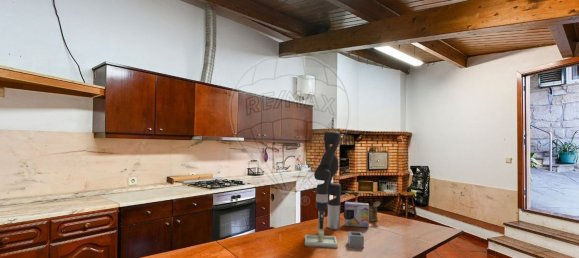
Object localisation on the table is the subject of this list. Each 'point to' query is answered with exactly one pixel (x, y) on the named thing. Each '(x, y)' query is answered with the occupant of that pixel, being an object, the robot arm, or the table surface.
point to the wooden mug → (373, 211)
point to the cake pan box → (356, 214)
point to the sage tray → (328, 241)
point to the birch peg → (320, 232)
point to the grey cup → (355, 239)
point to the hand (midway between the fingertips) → (321, 227)
